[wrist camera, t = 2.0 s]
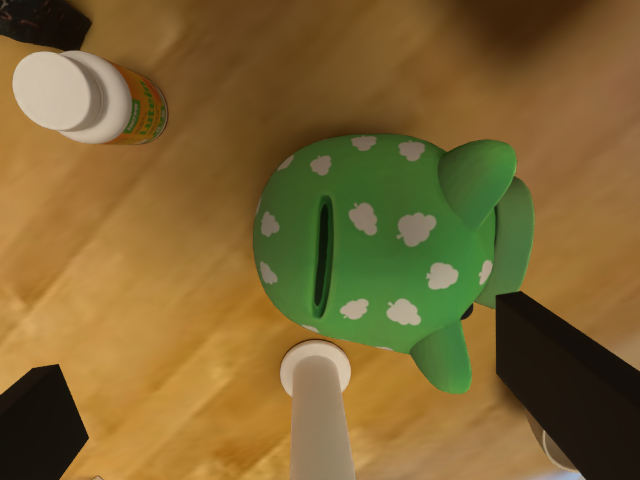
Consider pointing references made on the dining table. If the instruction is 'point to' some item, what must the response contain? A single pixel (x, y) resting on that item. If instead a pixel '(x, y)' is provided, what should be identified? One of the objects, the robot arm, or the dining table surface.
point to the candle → (318, 411)
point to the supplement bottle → (89, 98)
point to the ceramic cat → (43, 23)
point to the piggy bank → (394, 243)
